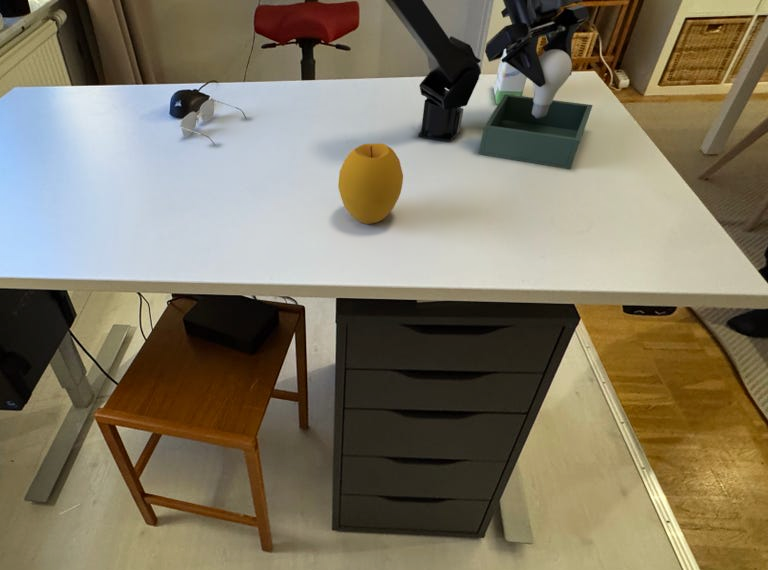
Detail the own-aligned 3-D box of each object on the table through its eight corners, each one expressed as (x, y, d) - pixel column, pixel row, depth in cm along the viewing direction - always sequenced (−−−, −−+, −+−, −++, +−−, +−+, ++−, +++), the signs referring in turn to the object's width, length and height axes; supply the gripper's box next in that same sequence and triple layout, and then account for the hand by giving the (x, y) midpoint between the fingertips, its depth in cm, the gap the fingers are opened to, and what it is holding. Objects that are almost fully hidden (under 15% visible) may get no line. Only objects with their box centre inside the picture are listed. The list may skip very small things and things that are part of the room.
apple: (373, 194, 91) (377, 124, 82) (413, 219, 85) (422, 146, 76) (326, 214, 87) (325, 143, 79) (364, 241, 81) (368, 167, 73)
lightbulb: (553, 111, 98) (573, 44, 90) (558, 125, 94) (580, 56, 86) (518, 110, 99) (534, 44, 91) (522, 124, 95) (540, 56, 87)
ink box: (493, 89, 119) (505, 28, 110) (518, 89, 118) (532, 28, 109) (495, 104, 113) (508, 41, 104) (521, 105, 112) (537, 41, 103)
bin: (478, 154, 98) (484, 126, 95) (499, 120, 108) (504, 94, 104) (570, 169, 93) (579, 140, 89) (583, 132, 102) (592, 104, 98)
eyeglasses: (215, 114, 118) (214, 95, 115) (248, 121, 116) (247, 102, 113) (180, 140, 110) (177, 121, 107) (214, 149, 107) (213, 129, 104)
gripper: (517, -36, 79) (556, 66, 81) (600, -55, 85) (635, 39, 87) (467, 15, 90) (503, 104, 91) (545, -6, 96) (577, 78, 97)
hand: (555, 81), depth 91 cm, fingers closed on lightbulb, 6 cm apart
